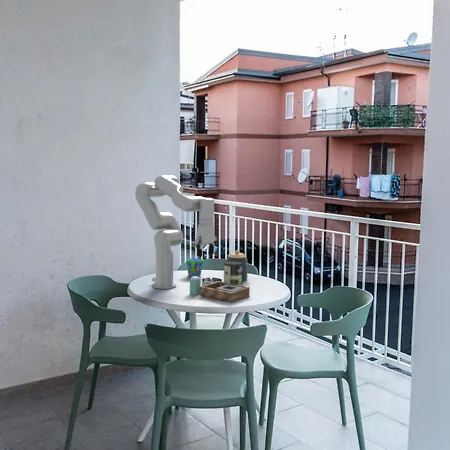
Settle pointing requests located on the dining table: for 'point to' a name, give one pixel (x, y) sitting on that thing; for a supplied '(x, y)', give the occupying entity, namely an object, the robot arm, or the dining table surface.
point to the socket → (229, 288)
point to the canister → (240, 258)
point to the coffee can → (233, 272)
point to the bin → (224, 292)
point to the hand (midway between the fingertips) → (205, 255)
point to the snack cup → (194, 266)
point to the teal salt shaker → (195, 285)
